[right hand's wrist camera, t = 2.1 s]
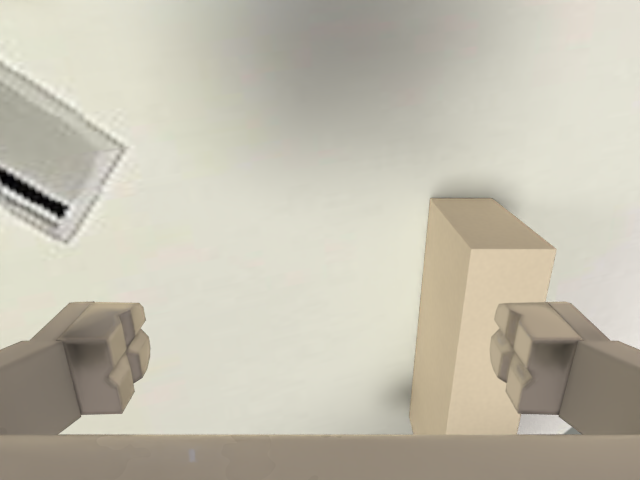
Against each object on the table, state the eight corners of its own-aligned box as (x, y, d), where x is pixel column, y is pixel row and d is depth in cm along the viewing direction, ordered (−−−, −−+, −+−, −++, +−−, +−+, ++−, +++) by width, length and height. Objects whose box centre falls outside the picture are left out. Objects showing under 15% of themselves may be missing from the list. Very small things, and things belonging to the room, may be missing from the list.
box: (430, 198, 41) (471, 248, 30) (492, 198, 41) (557, 248, 30) (409, 416, 50) (434, 517, 39) (459, 416, 50) (499, 517, 39)
